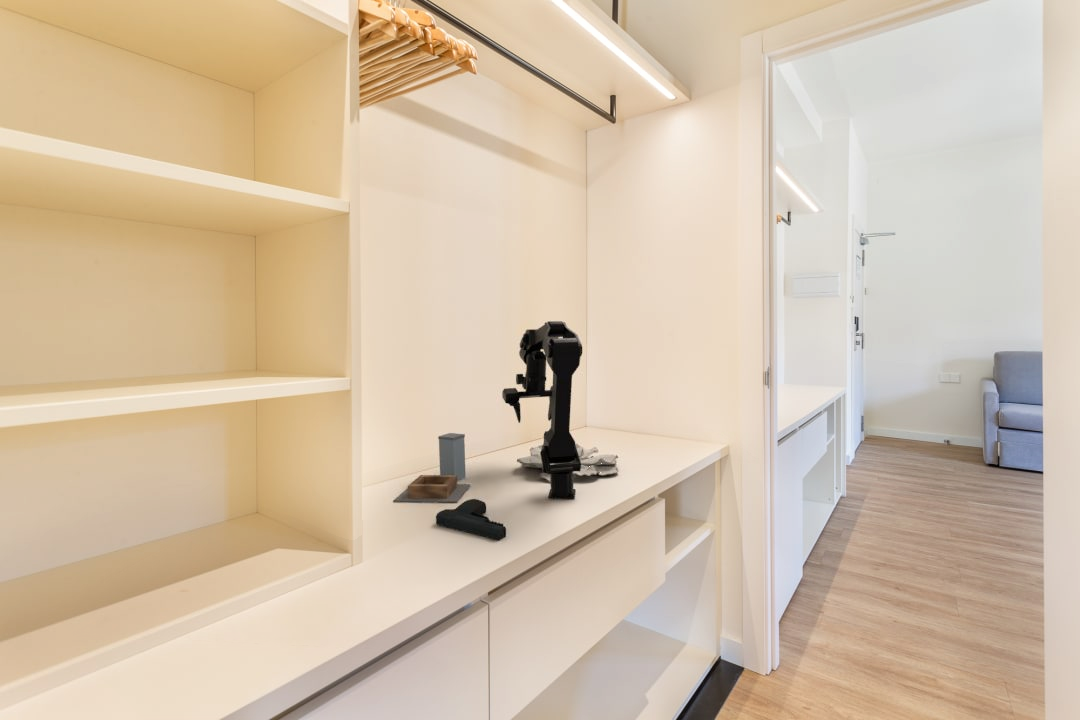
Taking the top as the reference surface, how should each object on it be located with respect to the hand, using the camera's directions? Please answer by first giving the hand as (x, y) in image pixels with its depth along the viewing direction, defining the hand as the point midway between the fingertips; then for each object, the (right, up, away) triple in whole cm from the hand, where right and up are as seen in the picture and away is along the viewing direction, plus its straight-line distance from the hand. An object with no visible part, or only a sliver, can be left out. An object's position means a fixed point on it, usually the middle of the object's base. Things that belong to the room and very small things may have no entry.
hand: (534, 421), depth 156 cm
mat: (-26, -16, -22) cm, 37 cm away
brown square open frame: (-26, -16, -22) cm, 37 cm away
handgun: (-11, -18, -44) cm, 48 cm away
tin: (-23, -15, -10) cm, 29 cm away
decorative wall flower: (+10, -15, -1) cm, 18 cm away
